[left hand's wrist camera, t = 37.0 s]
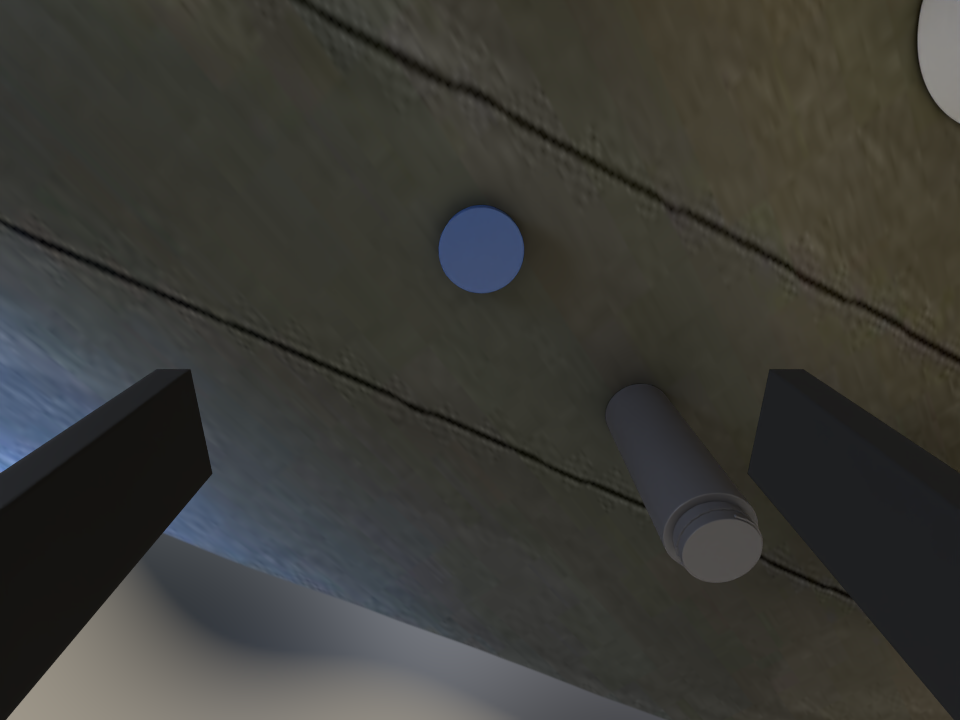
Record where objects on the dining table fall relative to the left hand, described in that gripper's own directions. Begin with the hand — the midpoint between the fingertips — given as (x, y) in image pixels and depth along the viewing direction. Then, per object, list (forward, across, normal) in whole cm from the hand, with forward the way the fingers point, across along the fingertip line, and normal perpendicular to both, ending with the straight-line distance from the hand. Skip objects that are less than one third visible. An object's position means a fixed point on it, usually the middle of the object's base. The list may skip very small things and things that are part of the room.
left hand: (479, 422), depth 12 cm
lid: (+25, 0, 0) cm, 25 cm away
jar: (+27, +12, -13) cm, 32 cm away
